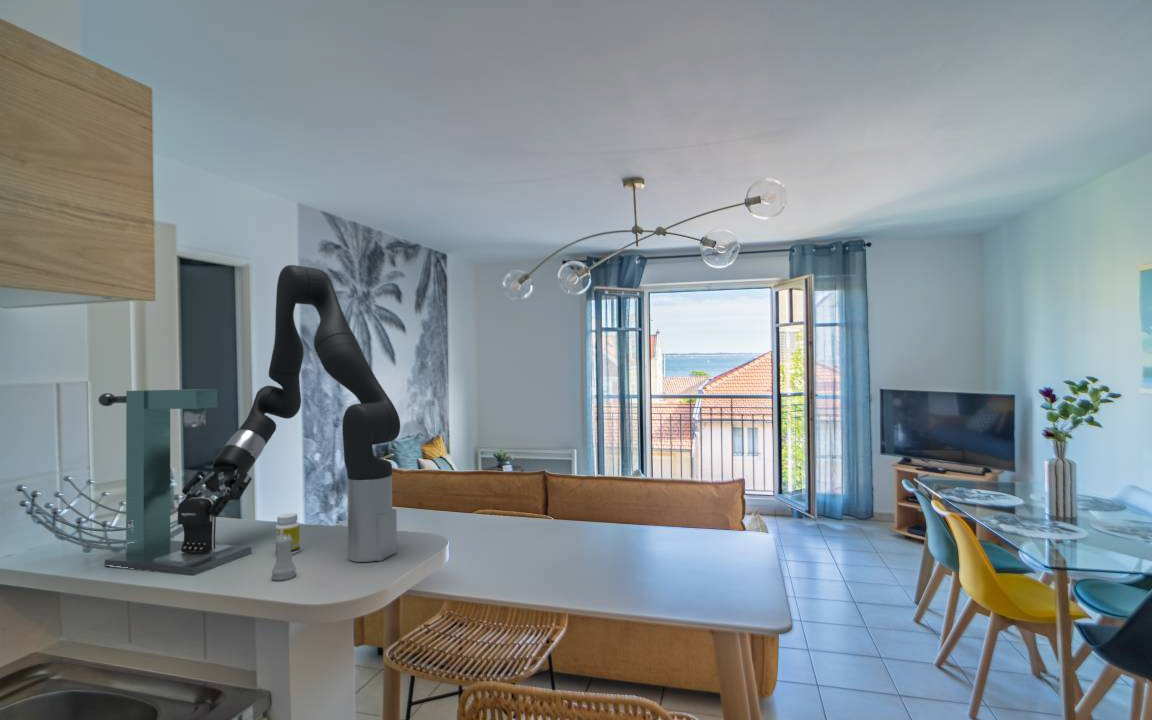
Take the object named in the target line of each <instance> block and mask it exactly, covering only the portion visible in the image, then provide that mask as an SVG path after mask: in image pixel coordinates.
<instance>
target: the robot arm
mask: <svg viewBox="0 0 1152 720" xmlns="http://www.w3.org/2000/svg"><path fill="white" fill-rule="evenodd" d="M296 304H299V305H310V306H312V307H314V308H315V310H316V312H317V313H318V316H319V319H320V320H319V324H318V326H317V329H316V332H315V336H314V338H313V339H314V340H313V345H314V350H315V352H316V355H317V356H318V359H319V361H320V363H321V365H322V367H323V369H324V370H325V372H326V374H328V375H330V376H331V378H333V379H334V380H335V381H336V382H337V383H338V384H341V386H343V387H344V388H345V389H346V390H348V391H349V392H350V393H352V394H353V395H354V396H355V398H357V400H358V401H359V403H354V404H351V405H349V406H348V407H347V408H346V410H345V411H344V414H343V416H342V426H341V428H342V429H341V431H342V443H343V444H342V445H343V460H344V466H345V468H346V475H347V478H346V479H347V480H346V481H347V491H346V492H347V494H346V495H347V558H348V560H349V561H351V562H355V563H356V562H357V563H366V562H369V563H370V562H375V561H376V562H377V561H378V562H382V561H384V560H385V559H387V558H389V557H390V556H393V555H394V554H396V553H398V532H397V529H398V527H397V526H398V525H397V524H398V520H397V518H398V517H397V509H395V508H393V465H392V464H393V463H392V462H390V461H389V460H386V459H382V458H379V457H377V456H376V455H375V454H374V449H373V447H374V446H375V445H381V444H387V443H391V442H393V441H394V440H396V439H397V438H398V436H399V435H400V431H401V420H400V417H399V413H398V410H397V409H396V406H395V405H394V404H393V402H392V400H391V399H390V397H389V396H388V395H387V393H386V391H385V390H384V388H383V387H382V385H381V384H380V382H379V381H378V379H377V377H376V375H375V374H374V372H373V370H372V368H371V366H370V364H369V363H368V361H367V359H366V356H365V355H364V354H365V353H364V352H363V350H362V348H361V345H360V343H359V342H358V339H357V338H356V336H355V334H354V333H353V330H352V328H351V327H350V325H349V323H348V320H347V317H346V316H345V314H344V312H343V310H342V307H341V304H340V302H339V299H338V297H337V293H336V290H335V288H334V285H333V283H332V280H331V278H330V276H329V275H328V273H326V271H324V270H323V269H319V268H317V267H310V266H309V267H308V266H303V265H297V264H296V265H295V264H294V265H293V264H289V265H285V266H284V267H283V268H282V269H281V270H280V273H279V276H278V277H277V285H276V298H275V321H274V322H275V325H274V327H275V330H274V332H275V333H274V341H273V342H274V344H273V349H272V353H271V354H272V355H271V359H270V364H269V368H268V377H269V379H270V380H272V381H273V382H275V383H277V384H279V386H280V387H278V386H275V385H264V386H263V387H261V388H260V389H258V391H257V393H256V395H255V396H254V399H253V403H252V406H251V409H250V411H249V413H248V415H247V417H246V419H245V421H244V422H243V423H242V425H241V426H240V427H239V428H238V430H237V431H236V432H235V433H234V434H233V435H232V436H231V437H230V438H229V440H228V441H227V442H226V444H225V445H224V446H223V448H222V449H220V452H219V453H218V454H217V455H216V457H214V460H213V461H212V462H213V463H212V465H213V467H212V469H211V470H210V471H208V472H205V471H203V470H201V469H200V470H198V471H197V472H196V473H195V474H194V475H193V476H192V478H191V479H190V480H189V481H188V483H186V485H185V486H184V487H183V488H182V490H181V492H182V493H183V494H184V495H185V497H184V499H183V500H182V501H184V500H187V499H190V498H203V496H208V495H210V494H211V493H217V492H218V493H220V494H219V495H220V496H217V498H216V499H215V500H214V504H213V505H212V506H211V508H210V509H209V511H208V512H209V514H211V515H212V516H213V517H216V518H217V517H218V516H219V514H221V513H222V512H223V510H224V508H226V506H227V505H228V503H231V502H232V501H233V500H235V501H238V500H240V499H241V497H242V496H243V495H244V492H245V491H246V489H247V487H248V486H249V484H250V483H251V481H252V480H253V478H252V477H251V475H249V472H250V470H251V469H252V467H253V465H254V464H255V463H256V461H257V460H258V458H259V457H260V456H261V454H262V452H263V450H264V448H265V447H266V445H267V443H268V442H269V441H270V439H271V438H272V437H273V435H274V434H275V432H276V430H277V424H276V422H275V421H274V419H272V418H271V417H269V416H268V415H272V416H275V417H277V418H278V417H279V418H283V419H291V418H293V417H295V416H296V415H297V414H298V413H299V411H300V409H301V404H302V397H301V395H302V394H301V387H300V382H301V381H300V374H301V369H302V366H303V365H302V364H303V360H304V352H305V351H304V345H303V341H302V339H301V337H300V334H299V332H298V329H297V326H296V324H295V319H294V315H295V308H296ZM266 414H268V415H266ZM204 485H205V487H204ZM192 487H193V488H192ZM198 491H199V492H198ZM177 512H178V508H177Z"/></svg>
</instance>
